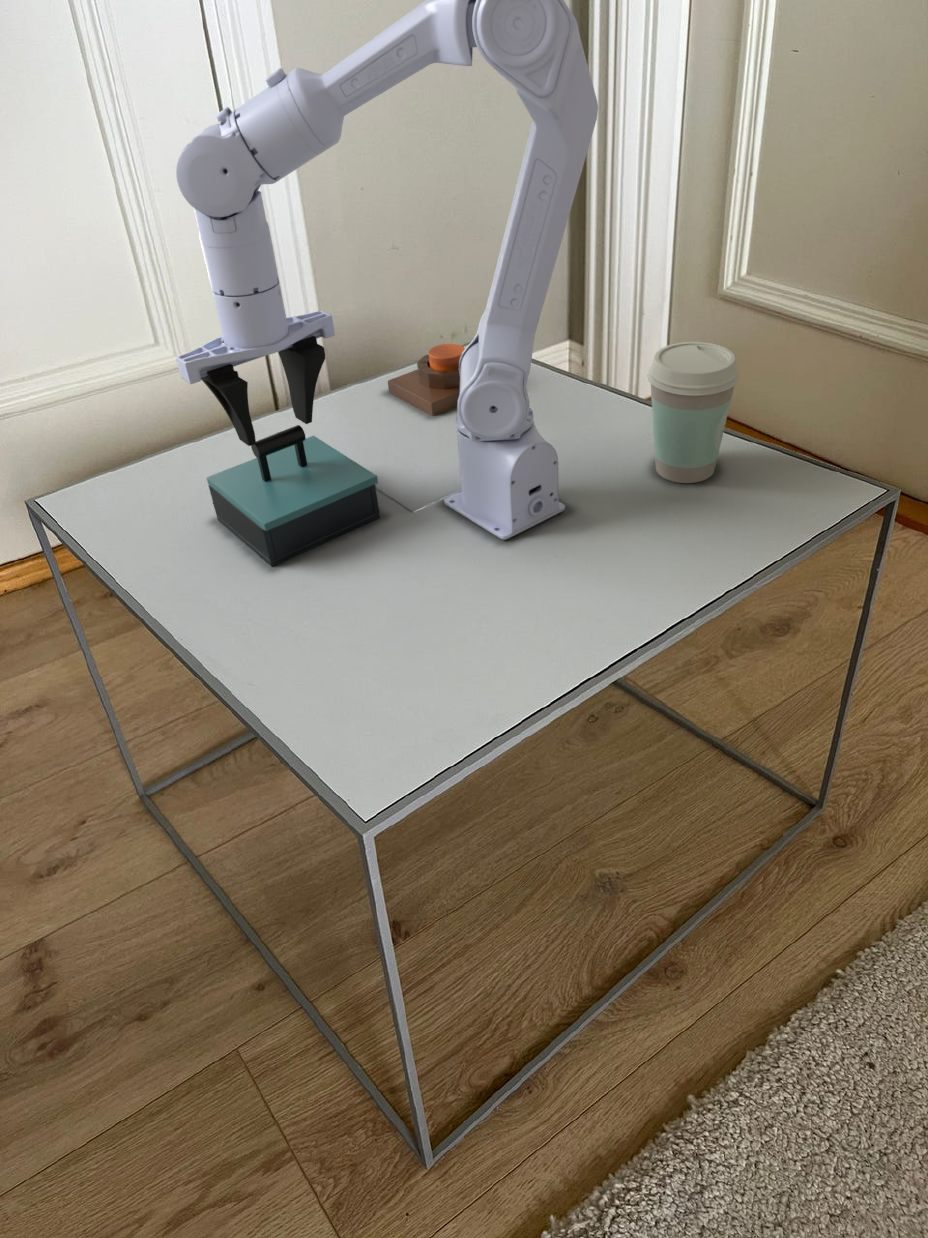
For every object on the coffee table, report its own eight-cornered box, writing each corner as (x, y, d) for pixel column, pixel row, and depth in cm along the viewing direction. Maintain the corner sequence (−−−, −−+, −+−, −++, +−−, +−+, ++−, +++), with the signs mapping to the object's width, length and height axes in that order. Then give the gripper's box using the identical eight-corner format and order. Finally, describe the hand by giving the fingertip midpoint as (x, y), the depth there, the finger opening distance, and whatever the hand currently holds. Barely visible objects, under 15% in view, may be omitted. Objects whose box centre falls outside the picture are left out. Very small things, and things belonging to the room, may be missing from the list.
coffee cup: (728, 492, 92) (742, 376, 85) (640, 488, 94) (646, 374, 86) (727, 450, 99) (740, 339, 91) (644, 447, 100) (650, 338, 93)
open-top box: (380, 517, 93) (375, 481, 90) (271, 567, 87) (262, 529, 85) (321, 477, 100) (315, 442, 98) (217, 520, 95) (207, 484, 92)
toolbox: (378, 483, 90) (371, 436, 87) (266, 531, 84) (254, 484, 81) (315, 441, 98) (306, 397, 95) (207, 484, 92) (195, 438, 89)
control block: (465, 363, 121) (464, 337, 119) (511, 384, 115) (510, 357, 113) (388, 393, 115) (385, 366, 113) (432, 416, 110) (429, 388, 108)
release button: (451, 354, 116) (450, 340, 115) (473, 364, 113) (472, 350, 112) (422, 365, 114) (421, 351, 113) (444, 375, 111) (443, 361, 110)
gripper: (296, 254, 86) (320, 393, 94) (146, 297, 79) (187, 442, 88) (336, 270, 81) (358, 415, 90) (182, 317, 75) (221, 468, 83)
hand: (276, 430), depth 89 cm, fingers open, 5 cm apart
